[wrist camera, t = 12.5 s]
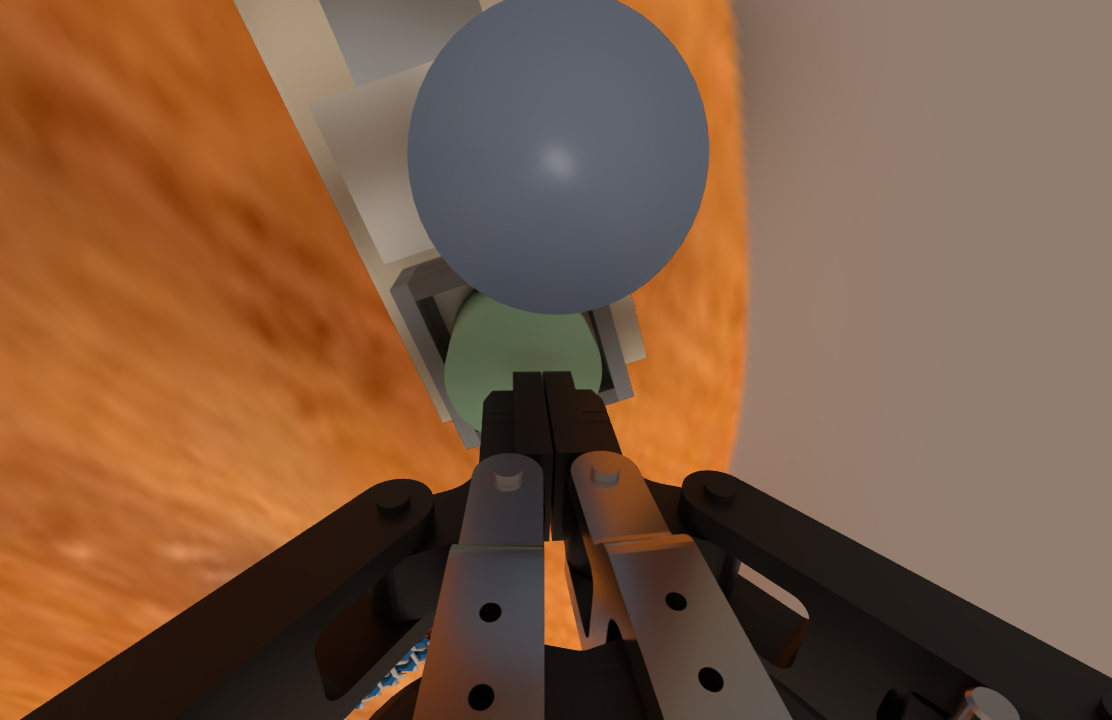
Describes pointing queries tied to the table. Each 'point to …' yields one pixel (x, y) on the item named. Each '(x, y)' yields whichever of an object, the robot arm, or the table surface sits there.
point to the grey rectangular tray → (393, 163)
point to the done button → (513, 351)
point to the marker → (558, 153)
